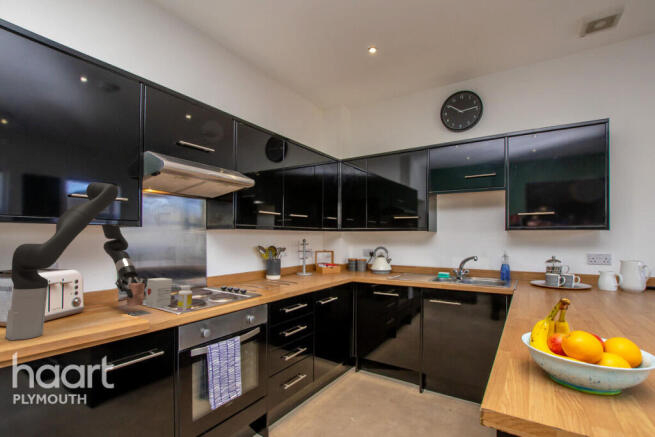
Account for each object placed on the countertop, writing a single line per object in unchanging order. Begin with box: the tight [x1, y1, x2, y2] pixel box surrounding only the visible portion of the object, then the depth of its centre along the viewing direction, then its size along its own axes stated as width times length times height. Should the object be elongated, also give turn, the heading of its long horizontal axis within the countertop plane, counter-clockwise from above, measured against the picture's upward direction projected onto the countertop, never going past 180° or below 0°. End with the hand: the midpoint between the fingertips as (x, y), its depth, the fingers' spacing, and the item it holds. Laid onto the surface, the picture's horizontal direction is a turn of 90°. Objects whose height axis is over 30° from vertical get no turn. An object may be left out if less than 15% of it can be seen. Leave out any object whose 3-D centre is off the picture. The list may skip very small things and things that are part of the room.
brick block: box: [125, 283, 145, 307], centre depth 151 cm, size 5×5×10 cm
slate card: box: [124, 310, 152, 317], centre depth 151 cm, size 12×10×1 cm
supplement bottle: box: [176, 284, 193, 313], centre depth 162 cm, size 7×7×13 cm
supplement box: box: [145, 277, 173, 309], centre depth 172 cm, size 9×9×15 cm
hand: (137, 296), depth 150 cm, fingers closed on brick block, 5 cm apart
